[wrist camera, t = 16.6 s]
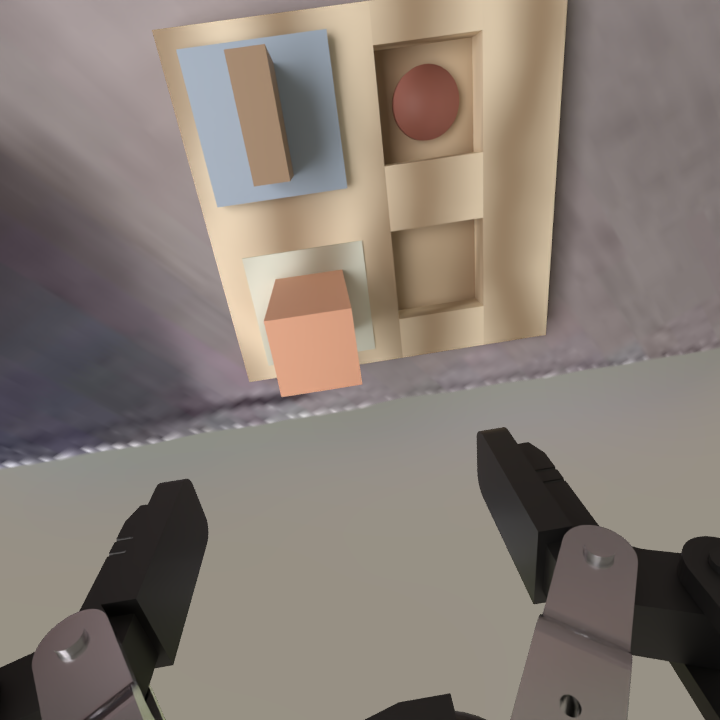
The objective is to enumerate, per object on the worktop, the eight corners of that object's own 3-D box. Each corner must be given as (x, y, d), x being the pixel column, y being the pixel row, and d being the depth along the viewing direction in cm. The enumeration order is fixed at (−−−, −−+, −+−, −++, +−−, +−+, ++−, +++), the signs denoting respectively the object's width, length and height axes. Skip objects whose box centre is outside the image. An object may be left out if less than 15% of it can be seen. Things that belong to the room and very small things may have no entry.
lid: (325, 31, 21) (329, 2, 17) (346, 187, 24) (354, 196, 20) (179, 51, 21) (144, 27, 17) (219, 206, 24) (199, 219, 20)
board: (549, -14, 23) (570, -28, 21) (532, 324, 31) (546, 335, 29) (164, 39, 22) (151, 29, 20) (253, 368, 31) (249, 382, 29)
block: (342, 269, 26) (351, 308, 20) (351, 331, 28) (362, 384, 22) (275, 279, 26) (263, 321, 20) (288, 340, 28) (281, 396, 22)
